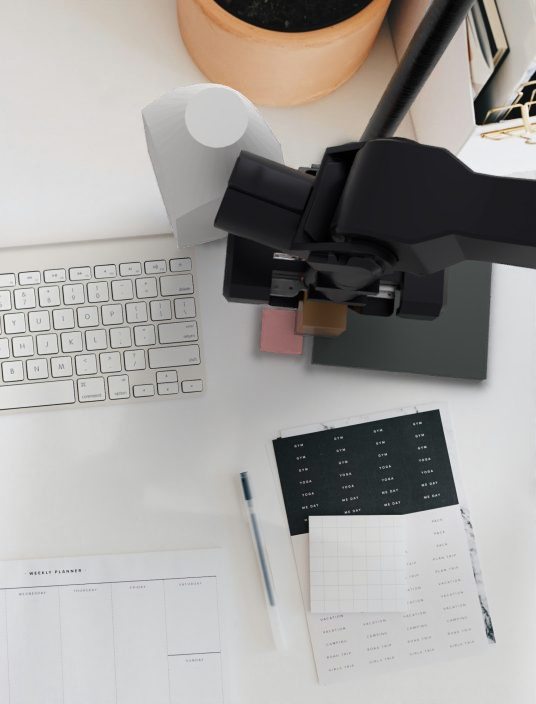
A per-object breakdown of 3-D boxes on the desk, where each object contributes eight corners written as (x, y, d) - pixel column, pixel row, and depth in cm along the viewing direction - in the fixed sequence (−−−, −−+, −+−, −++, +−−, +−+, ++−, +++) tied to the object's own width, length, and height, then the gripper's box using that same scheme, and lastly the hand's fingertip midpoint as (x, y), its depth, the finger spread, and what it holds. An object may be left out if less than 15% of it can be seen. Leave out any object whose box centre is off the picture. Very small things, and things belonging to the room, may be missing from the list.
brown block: (341, 257, 72) (352, 243, 67) (335, 338, 71) (346, 330, 66) (300, 253, 72) (308, 238, 67) (293, 334, 71) (301, 325, 66)
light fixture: (270, 240, 73) (297, 159, 53) (180, 266, 72) (173, 195, 52) (242, 152, 74) (258, 41, 54) (152, 178, 73) (135, 74, 53)
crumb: (303, 314, 73) (305, 312, 71) (300, 354, 72) (302, 353, 71) (262, 311, 72) (263, 308, 71) (259, 351, 72) (260, 349, 71)
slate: (488, 251, 74) (492, 248, 73) (482, 380, 73) (486, 379, 72) (320, 234, 73) (322, 231, 72) (311, 364, 72) (312, 363, 71)
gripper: (480, 159, 57) (419, 223, 72) (238, 134, 56) (229, 204, 71) (473, 301, 55) (413, 335, 71) (225, 278, 55) (219, 317, 70)
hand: (319, 294), depth 71 cm, fingers closed on brown block, 4 cm apart
